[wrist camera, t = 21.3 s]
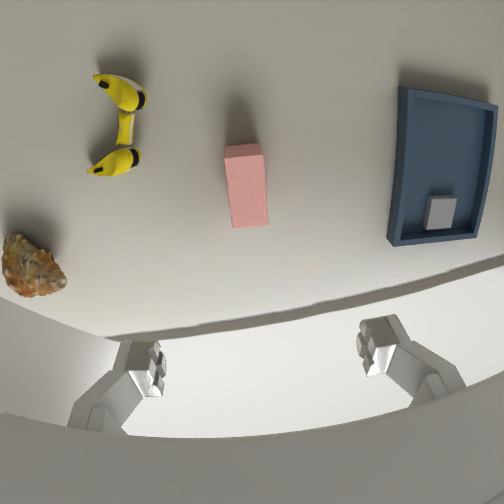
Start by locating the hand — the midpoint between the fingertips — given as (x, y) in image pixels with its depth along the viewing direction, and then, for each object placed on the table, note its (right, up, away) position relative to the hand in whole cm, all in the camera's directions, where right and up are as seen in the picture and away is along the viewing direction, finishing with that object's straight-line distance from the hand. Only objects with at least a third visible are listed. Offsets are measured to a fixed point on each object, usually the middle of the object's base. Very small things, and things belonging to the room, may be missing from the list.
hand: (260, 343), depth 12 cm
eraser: (-1, +11, +18) cm, 21 cm away
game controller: (-13, +16, +14) cm, 25 cm away
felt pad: (+22, +9, +21) cm, 31 cm away
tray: (+22, +13, +18) cm, 31 cm away
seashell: (-27, +3, +21) cm, 35 cm away
